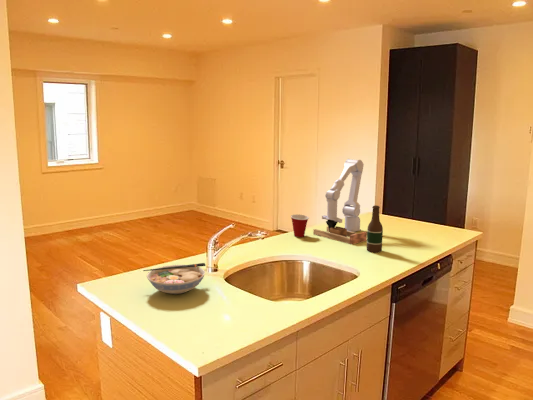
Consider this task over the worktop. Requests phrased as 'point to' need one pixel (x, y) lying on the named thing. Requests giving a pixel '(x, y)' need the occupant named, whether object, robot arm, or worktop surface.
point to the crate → (339, 231)
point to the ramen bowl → (176, 277)
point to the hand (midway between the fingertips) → (331, 232)
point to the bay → (352, 240)
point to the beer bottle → (374, 232)
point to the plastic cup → (299, 224)
